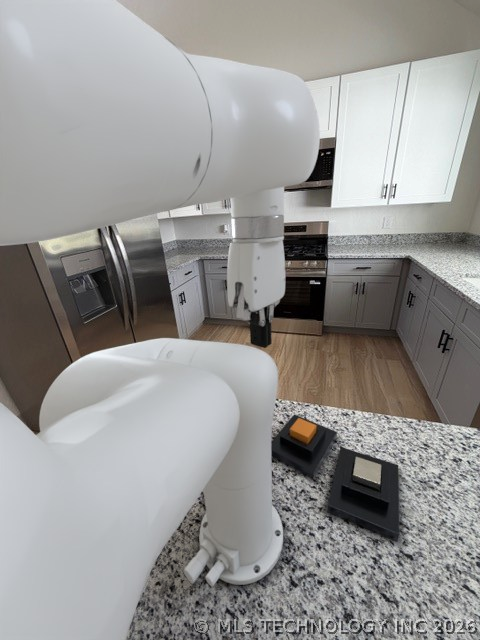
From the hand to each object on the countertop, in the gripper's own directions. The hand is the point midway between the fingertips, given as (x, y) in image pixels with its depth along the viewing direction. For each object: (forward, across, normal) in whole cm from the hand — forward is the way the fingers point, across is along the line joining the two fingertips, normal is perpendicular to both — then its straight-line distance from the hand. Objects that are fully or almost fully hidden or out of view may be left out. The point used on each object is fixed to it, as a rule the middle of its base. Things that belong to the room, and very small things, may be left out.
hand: (260, 344), depth 46 cm
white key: (+22, -4, +18) cm, 29 cm away
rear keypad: (+25, -7, +5) cm, 27 cm away
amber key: (+22, -7, +5) cm, 24 cm away
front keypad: (+25, -4, +18) cm, 31 cm away
